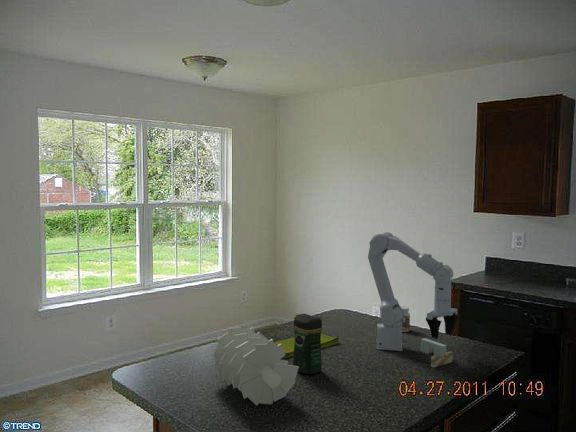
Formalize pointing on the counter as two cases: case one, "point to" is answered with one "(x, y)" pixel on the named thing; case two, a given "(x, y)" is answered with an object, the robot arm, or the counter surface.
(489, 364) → the counter surface
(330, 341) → the dish towel
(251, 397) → the spiral staircase
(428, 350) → the notched plate
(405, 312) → the pill bottle
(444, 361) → the birch board
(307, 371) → the coffee jar
